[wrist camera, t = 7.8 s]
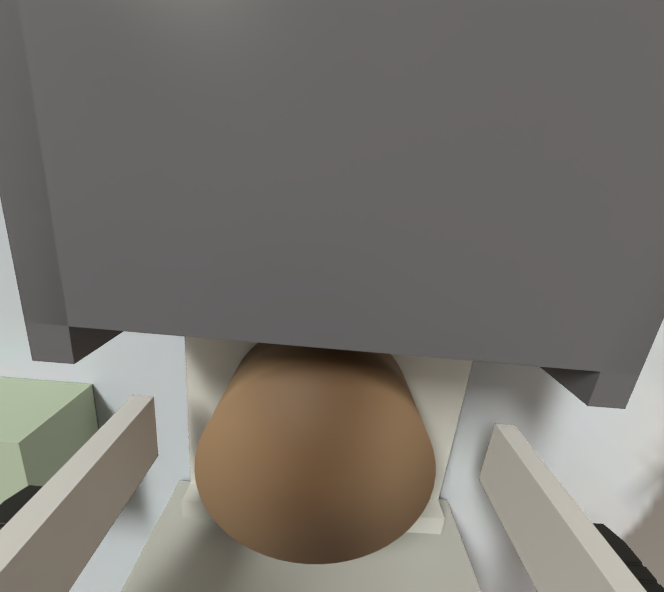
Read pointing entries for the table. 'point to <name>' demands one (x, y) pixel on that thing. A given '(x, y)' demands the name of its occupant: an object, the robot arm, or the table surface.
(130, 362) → the table surface
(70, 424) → the pale green block
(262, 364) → the brown flattened rounded piece
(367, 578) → the cream pull-out drawer
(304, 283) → the housing
